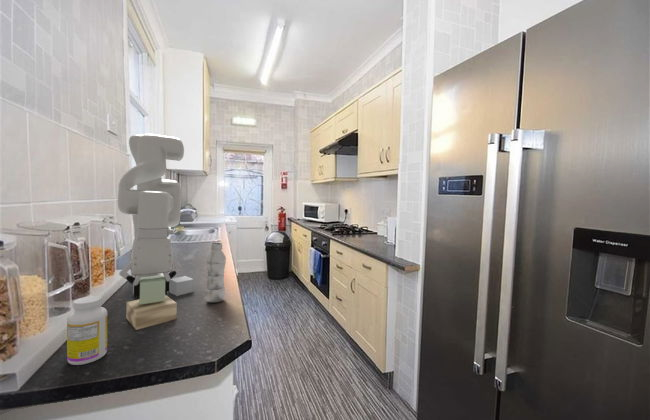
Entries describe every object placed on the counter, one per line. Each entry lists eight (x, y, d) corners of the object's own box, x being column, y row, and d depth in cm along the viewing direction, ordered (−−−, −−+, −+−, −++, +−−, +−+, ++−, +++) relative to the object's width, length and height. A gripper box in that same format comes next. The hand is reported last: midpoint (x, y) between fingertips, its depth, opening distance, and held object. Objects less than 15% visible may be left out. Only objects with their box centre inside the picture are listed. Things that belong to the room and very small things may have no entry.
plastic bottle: (225, 297, 100) (226, 242, 99) (224, 304, 93) (226, 245, 93) (206, 298, 98) (207, 242, 97) (203, 305, 91) (205, 245, 91)
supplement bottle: (88, 348, 64) (89, 293, 64) (114, 350, 63) (115, 295, 63) (57, 365, 57) (58, 303, 57) (86, 368, 57) (87, 306, 56)
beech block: (126, 319, 80) (126, 302, 80) (164, 309, 88) (164, 294, 87) (136, 330, 74) (136, 312, 73) (176, 319, 81) (176, 302, 81)
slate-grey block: (168, 292, 103) (169, 279, 103) (185, 288, 108) (185, 275, 108) (176, 296, 99) (177, 282, 99) (193, 292, 104) (193, 279, 104)
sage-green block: (138, 297, 81) (139, 277, 81) (162, 294, 85) (162, 275, 84) (139, 304, 76) (140, 283, 76) (164, 300, 80) (165, 280, 80)
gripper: (183, 231, 88) (182, 287, 89) (115, 233, 78) (114, 297, 78) (188, 234, 82) (187, 294, 83) (115, 237, 72) (114, 306, 72)
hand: (151, 295), depth 80 cm, fingers closed on sage-green block, 5 cm apart
